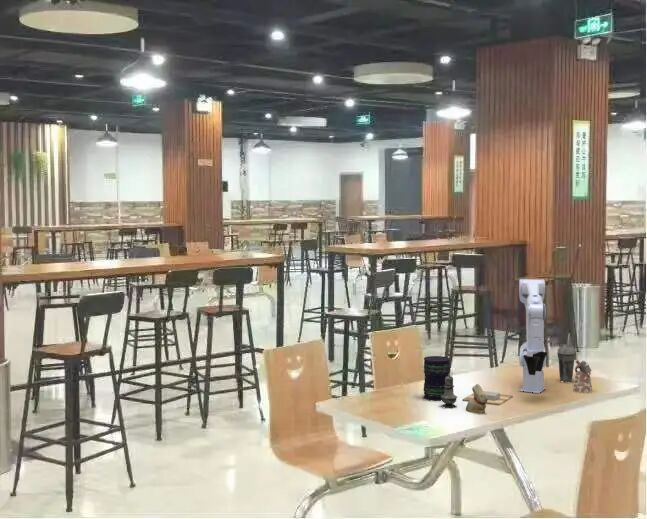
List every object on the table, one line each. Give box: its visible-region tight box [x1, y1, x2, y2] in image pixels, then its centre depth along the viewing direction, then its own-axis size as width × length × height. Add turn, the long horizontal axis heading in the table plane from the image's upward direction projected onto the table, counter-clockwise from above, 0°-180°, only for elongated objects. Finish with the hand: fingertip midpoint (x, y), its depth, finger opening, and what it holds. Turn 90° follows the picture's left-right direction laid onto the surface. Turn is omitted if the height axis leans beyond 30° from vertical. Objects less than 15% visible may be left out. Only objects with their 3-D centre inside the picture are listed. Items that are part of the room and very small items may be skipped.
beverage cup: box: [557, 332, 577, 382], centre depth 336 cm, size 7×7×20 cm
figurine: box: [572, 359, 593, 394], centre depth 319 cm, size 7×7×12 cm
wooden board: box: [462, 392, 514, 406], centre depth 306 cm, size 15×14×1 cm
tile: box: [483, 390, 501, 400], centre depth 306 cm, size 2×8×6 cm
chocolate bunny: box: [465, 383, 488, 414], centre depth 287 cm, size 6×8×10 cm
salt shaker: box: [441, 373, 458, 409], centre depth 295 cm, size 6×6×12 cm
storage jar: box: [423, 355, 451, 402], centre depth 308 cm, size 10×10×15 cm
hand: (535, 373), depth 305 cm, fingers open, 7 cm apart
